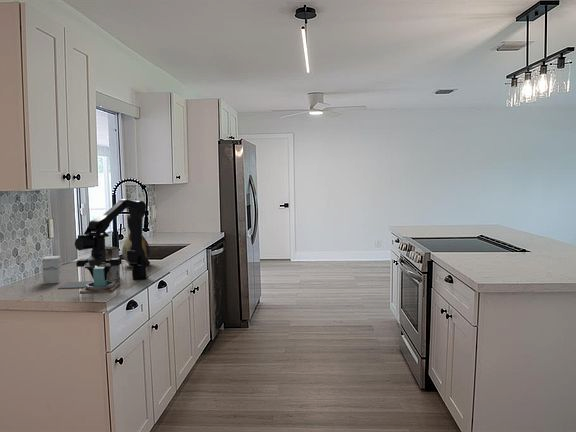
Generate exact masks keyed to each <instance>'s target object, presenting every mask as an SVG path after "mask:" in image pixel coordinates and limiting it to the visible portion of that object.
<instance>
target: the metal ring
mask: <svg viewBox="0 0 576 432" xmlns="http://www.w3.org/2000/svg"><path fill="white" fill-rule="evenodd" d="M115 283H116V282H115V281H114V280H107V286H98V287H94V281H93V282H91V283H88V284H86V290H108V289H111V288H113V287H114V286H115Z"/></svg>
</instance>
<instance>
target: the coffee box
mask: <svg viewBox="0 0 576 432" xmlns="http://www.w3.org/2000/svg"><path fill="white" fill-rule="evenodd" d="M105 248H106V260H110V259H112V258H120V247H118V246H106V245H105ZM105 266H106V264H101V265H100V266H97V267H105ZM120 271H121V270H120V265H118V266H113V267H111V269H110V271H109V274H108V277H107V281H115V280H117V279H119V278H120V277H121V276H120V275H121V273H120Z"/></svg>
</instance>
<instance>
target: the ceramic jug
mask: <svg viewBox="0 0 576 432" xmlns="http://www.w3.org/2000/svg"><path fill="white" fill-rule="evenodd" d="M126 218H127V219H126V220H127V225H128V228H129V229H128V230H129V234H128V235H127V237H126V238H125V240H124V243H123V245H122V251H121V254H122V258H123V260H124V261H125V262H126V263H127V264H128V266H129V267H131V268H133V267H134V266H130V263H129V262H128V258H127V250H130V249H131V247H132V218H131V216H130V214H129V215H128V216H127V217H126ZM142 248H143V250H144V251H145V257H146V259H147V260H148V261H149V259H150V256H151V248H150V245H149V242H148V241H147V240H146V238H145V237H144V236H143V234H142Z"/></svg>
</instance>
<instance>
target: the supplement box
mask: <svg viewBox="0 0 576 432" xmlns="http://www.w3.org/2000/svg"><path fill="white" fill-rule="evenodd" d="M61 257H62V256H61V255H52V256H51V255H47V256H44V257H42V258H41V264H42V265H41V266H42V267H41V268H42V284H43V285H45V284H59V283H61V281H62V280H63V279H62V258H61Z"/></svg>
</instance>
